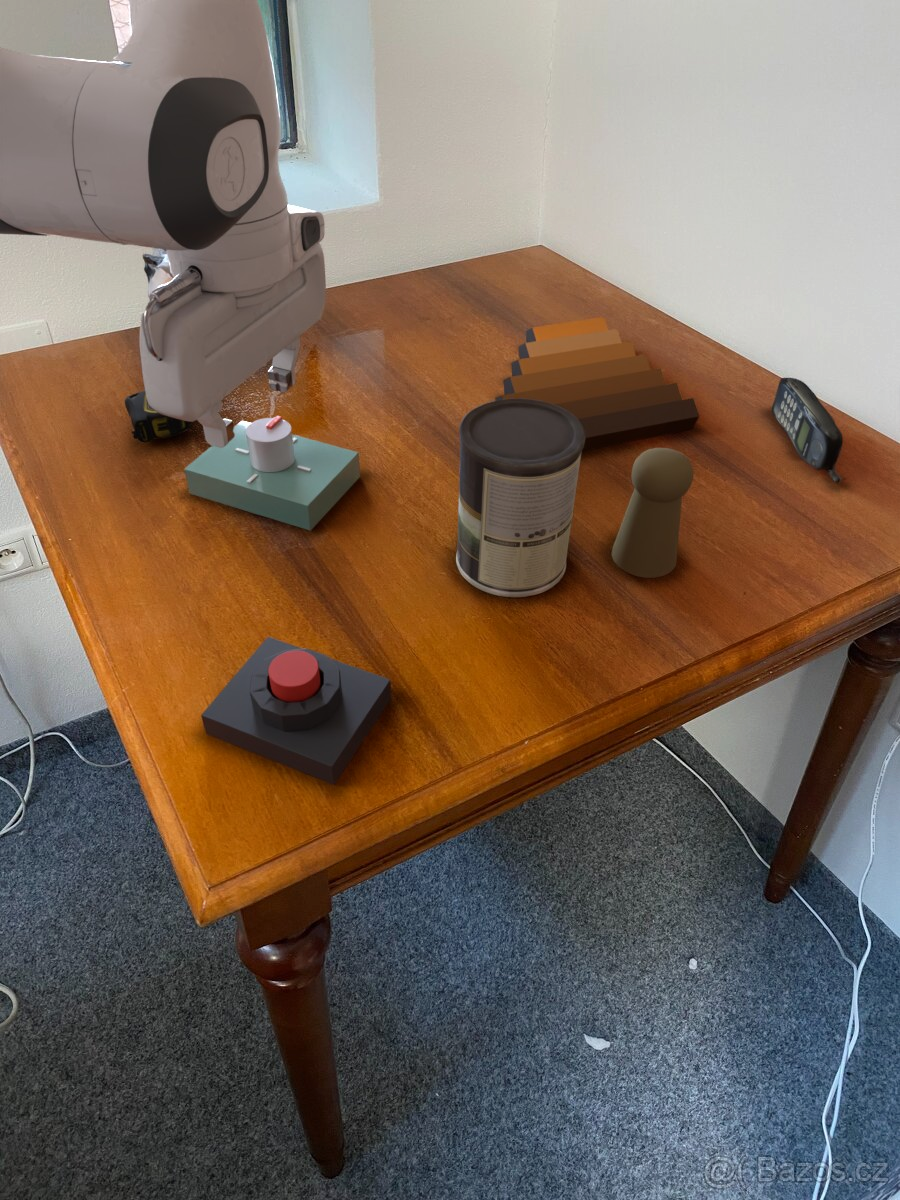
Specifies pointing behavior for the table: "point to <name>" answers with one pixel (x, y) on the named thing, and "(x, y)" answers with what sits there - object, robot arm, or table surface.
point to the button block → (299, 713)
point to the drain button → (294, 676)
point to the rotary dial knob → (270, 444)
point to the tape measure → (151, 420)
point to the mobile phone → (808, 425)
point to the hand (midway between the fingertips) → (253, 414)
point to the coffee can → (516, 495)
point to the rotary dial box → (275, 479)
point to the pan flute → (598, 383)
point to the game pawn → (653, 514)
